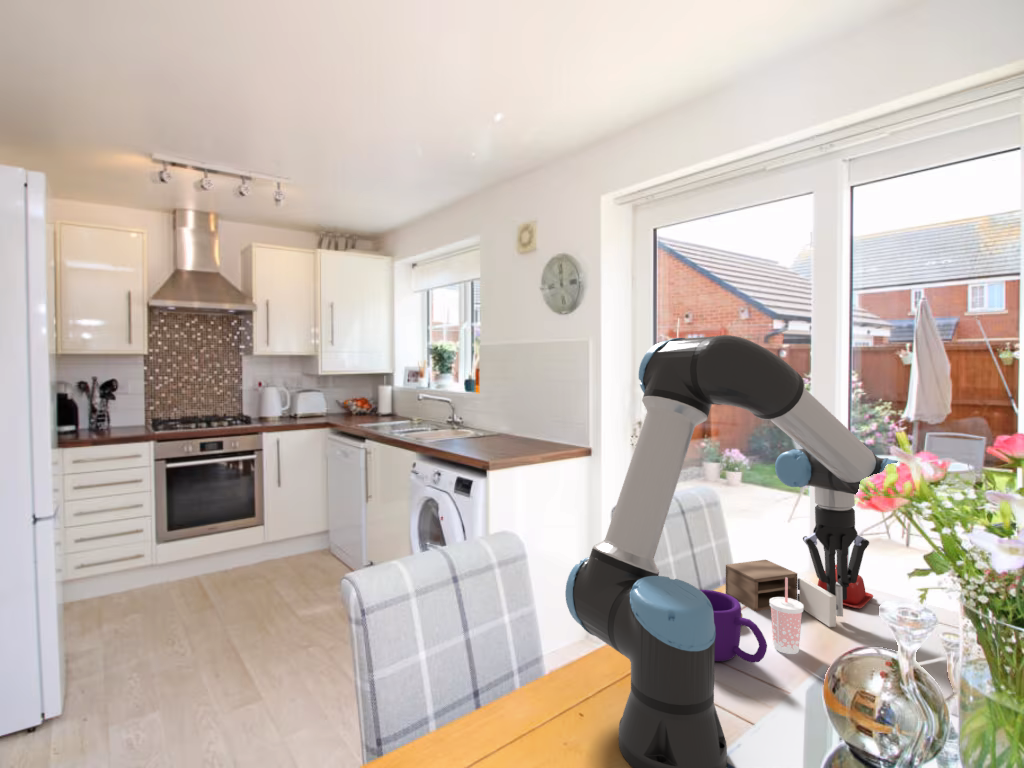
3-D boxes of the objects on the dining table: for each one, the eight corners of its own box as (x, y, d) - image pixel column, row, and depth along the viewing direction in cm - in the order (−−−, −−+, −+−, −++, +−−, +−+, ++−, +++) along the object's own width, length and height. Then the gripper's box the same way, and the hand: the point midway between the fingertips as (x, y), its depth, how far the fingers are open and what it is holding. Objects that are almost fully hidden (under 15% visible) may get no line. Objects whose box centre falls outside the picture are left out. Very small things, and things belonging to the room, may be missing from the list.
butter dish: (860, 614, 125) (861, 576, 125) (806, 598, 133) (806, 563, 133) (875, 600, 132) (875, 564, 132) (823, 586, 141) (823, 553, 141)
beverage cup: (810, 651, 108) (811, 580, 107) (789, 658, 105) (790, 585, 104) (782, 638, 113) (782, 570, 113) (762, 644, 110) (762, 575, 110)
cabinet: (797, 605, 129) (797, 573, 129) (754, 611, 125) (755, 579, 125) (765, 589, 138) (765, 559, 138) (725, 595, 135) (725, 564, 135)
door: (795, 604, 129) (795, 576, 128) (806, 603, 129) (806, 576, 129) (829, 627, 117) (829, 596, 117) (841, 626, 117) (841, 596, 117)
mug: (667, 647, 109) (667, 597, 109) (702, 631, 116) (702, 584, 116) (748, 687, 95) (748, 630, 95) (783, 667, 102) (783, 613, 102)
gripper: (858, 502, 123) (861, 607, 123) (797, 502, 125) (800, 605, 125) (874, 510, 116) (877, 622, 116) (809, 510, 118) (812, 620, 118)
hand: (837, 613), depth 120 cm, fingers closed
